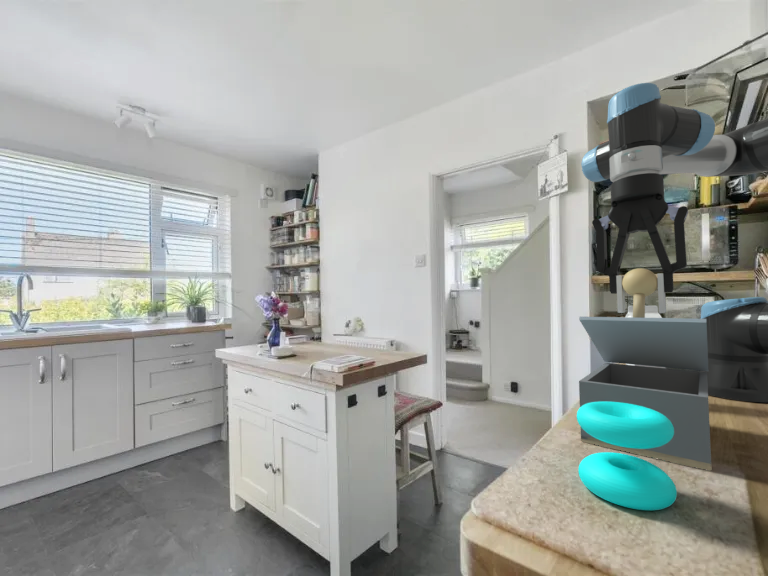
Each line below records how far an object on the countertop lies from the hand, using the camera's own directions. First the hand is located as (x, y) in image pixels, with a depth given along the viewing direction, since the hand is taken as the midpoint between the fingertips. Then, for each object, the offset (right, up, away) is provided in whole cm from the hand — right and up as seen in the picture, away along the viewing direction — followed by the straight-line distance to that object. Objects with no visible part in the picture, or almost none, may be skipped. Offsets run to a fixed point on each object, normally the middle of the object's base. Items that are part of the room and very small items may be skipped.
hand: (641, 312), depth 61 cm
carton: (+2, -21, +1) cm, 22 cm away
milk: (+17, -22, +22) cm, 35 cm away
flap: (+2, -6, +2) cm, 7 cm away
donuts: (-14, -21, -17) cm, 31 cm away
